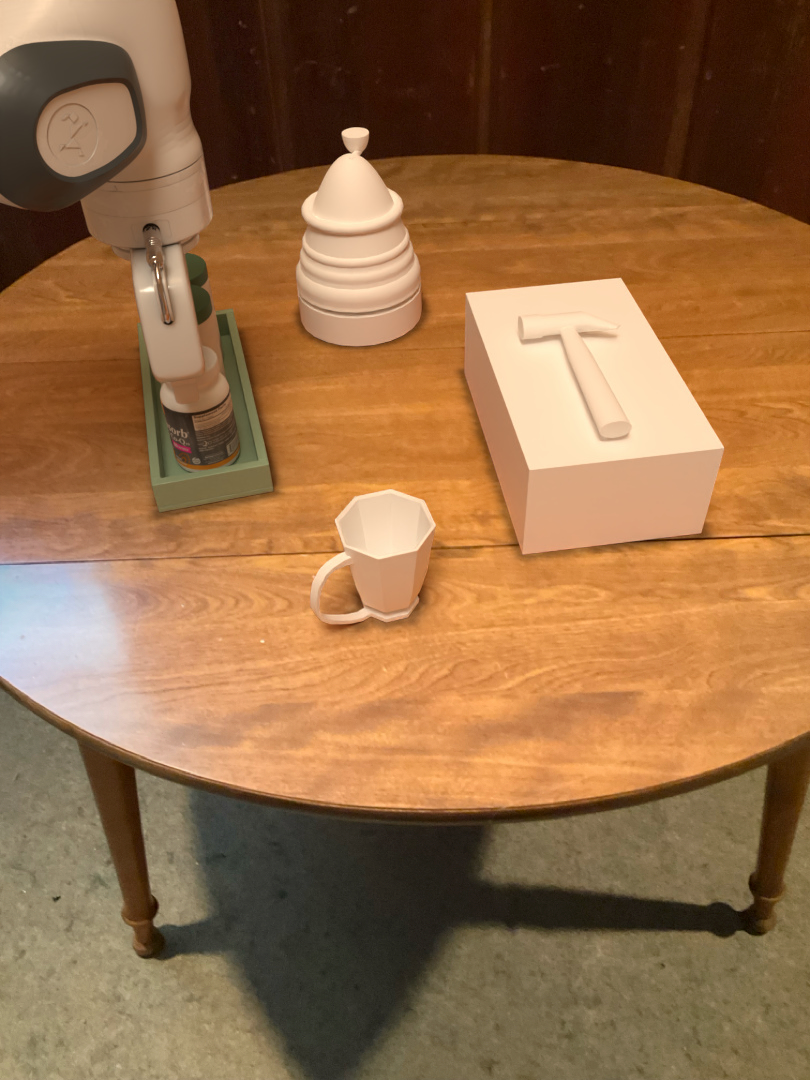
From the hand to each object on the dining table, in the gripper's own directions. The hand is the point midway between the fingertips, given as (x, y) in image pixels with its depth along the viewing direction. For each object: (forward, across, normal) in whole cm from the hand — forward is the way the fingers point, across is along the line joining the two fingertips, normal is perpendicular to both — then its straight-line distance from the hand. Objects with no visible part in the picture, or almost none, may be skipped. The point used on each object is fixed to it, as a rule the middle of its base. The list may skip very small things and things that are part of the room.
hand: (182, 365), depth 74 cm
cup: (+10, -21, -10) cm, 25 cm away
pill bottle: (+10, 0, -1) cm, 10 cm away
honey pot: (+10, +20, -19) cm, 29 cm away
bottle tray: (+10, +7, -1) cm, 12 cm away
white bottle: (+9, +9, 0) cm, 13 cm away
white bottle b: (+9, +15, -1) cm, 18 cm away
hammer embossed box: (+10, -7, -32) cm, 34 cm away
